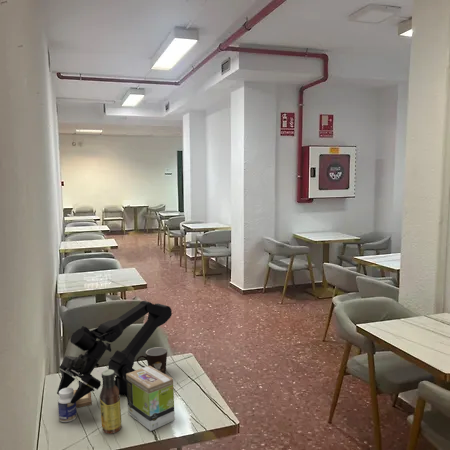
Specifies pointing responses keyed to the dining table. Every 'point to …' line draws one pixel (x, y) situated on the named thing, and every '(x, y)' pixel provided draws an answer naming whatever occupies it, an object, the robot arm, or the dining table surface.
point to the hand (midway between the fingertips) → (64, 398)
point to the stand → (84, 400)
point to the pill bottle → (66, 405)
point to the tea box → (150, 397)
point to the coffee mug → (156, 358)
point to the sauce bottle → (110, 403)
